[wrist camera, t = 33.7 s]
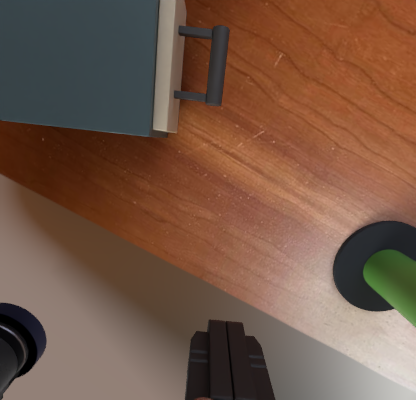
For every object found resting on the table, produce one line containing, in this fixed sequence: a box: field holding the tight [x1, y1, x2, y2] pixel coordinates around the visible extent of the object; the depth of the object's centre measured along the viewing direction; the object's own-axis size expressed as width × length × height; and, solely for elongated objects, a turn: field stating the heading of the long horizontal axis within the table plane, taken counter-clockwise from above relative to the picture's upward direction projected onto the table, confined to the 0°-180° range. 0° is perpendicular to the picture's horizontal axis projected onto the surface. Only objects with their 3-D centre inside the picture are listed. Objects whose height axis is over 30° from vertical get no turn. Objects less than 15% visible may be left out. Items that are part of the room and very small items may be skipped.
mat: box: [333, 221, 416, 311], centre depth 31 cm, size 12×12×1 cm
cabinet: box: [0, 0, 168, 138], centre depth 22 cm, size 15×13×9 cm
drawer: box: [152, 0, 230, 133], centre depth 22 cm, size 18×11×7 cm, turn 84°
